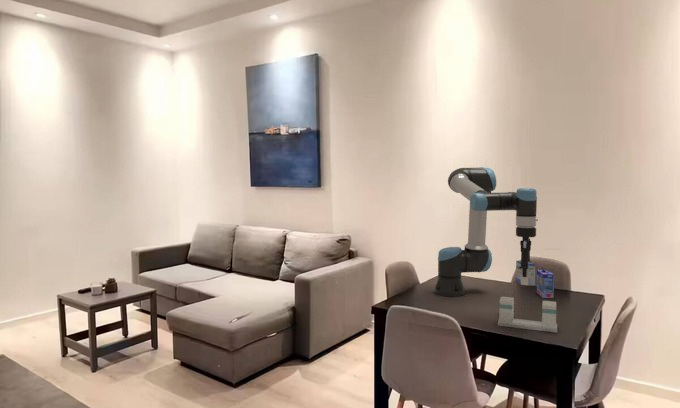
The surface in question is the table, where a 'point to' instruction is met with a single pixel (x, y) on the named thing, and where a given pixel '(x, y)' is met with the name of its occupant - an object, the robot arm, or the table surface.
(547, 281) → the ink cartridge box
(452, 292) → the robot arm
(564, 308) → the table surface
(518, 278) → the medicine box
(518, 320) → the white u-shaped block
